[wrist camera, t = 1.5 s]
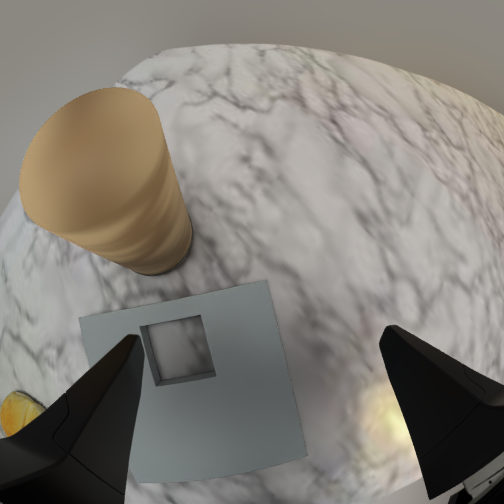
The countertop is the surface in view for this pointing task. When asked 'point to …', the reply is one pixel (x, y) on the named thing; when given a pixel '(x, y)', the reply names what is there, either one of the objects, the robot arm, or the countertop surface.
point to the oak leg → (108, 182)
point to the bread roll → (18, 412)
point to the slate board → (209, 389)
